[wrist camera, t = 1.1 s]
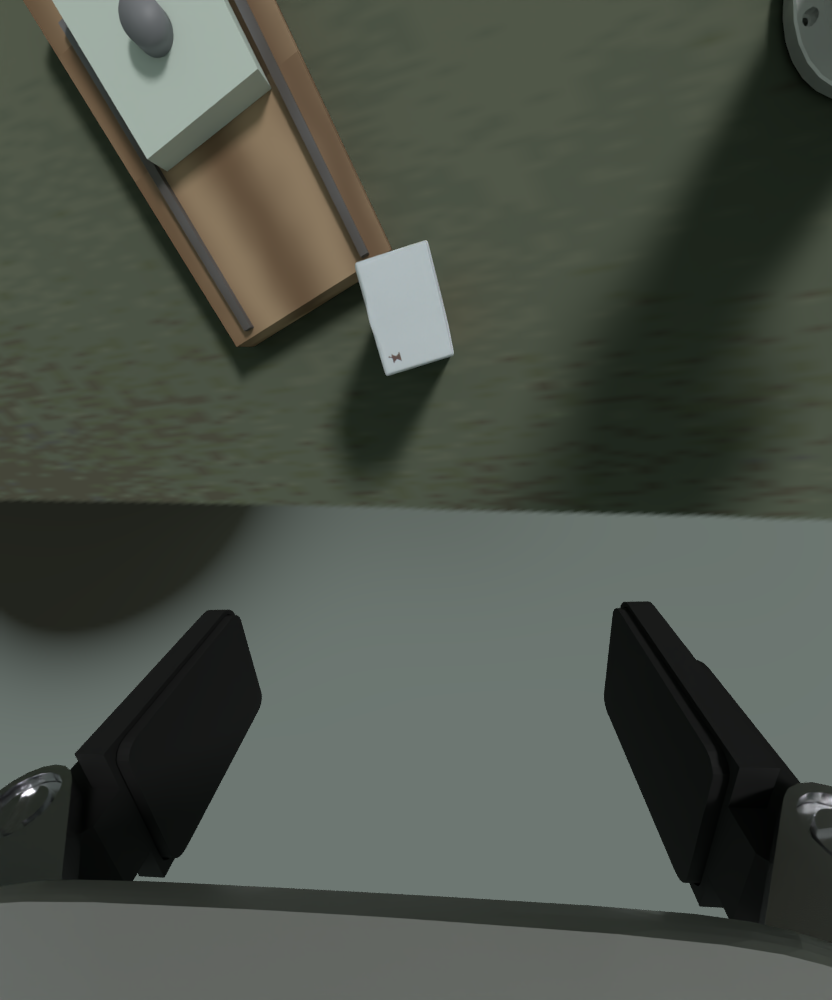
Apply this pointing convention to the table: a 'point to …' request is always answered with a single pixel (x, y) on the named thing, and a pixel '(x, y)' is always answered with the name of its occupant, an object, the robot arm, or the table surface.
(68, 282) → the table surface
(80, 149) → the table surface
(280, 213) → the brown wooden sliding box
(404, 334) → the skincare box
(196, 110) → the lid
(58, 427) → the table surface
